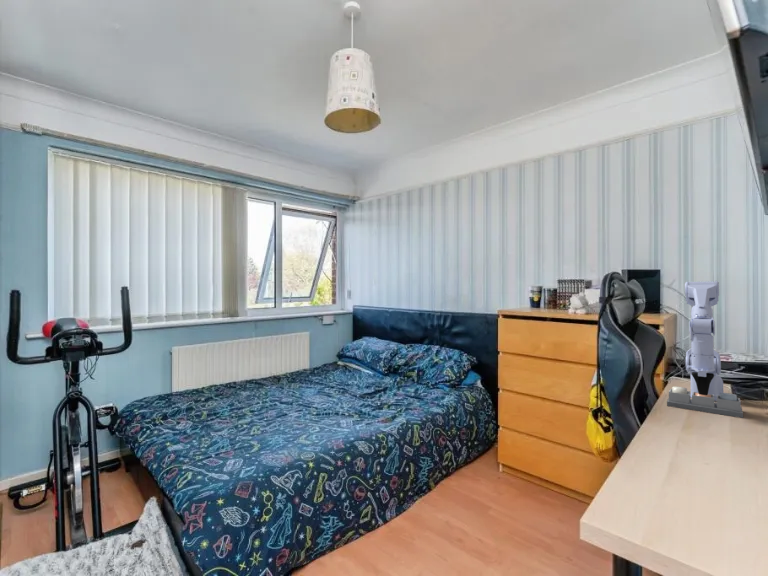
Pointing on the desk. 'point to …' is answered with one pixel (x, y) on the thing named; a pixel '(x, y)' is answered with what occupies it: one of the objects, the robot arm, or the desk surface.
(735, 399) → the bluegrey button
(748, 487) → the desk surface
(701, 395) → the terracotta button
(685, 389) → the cream button
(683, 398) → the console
